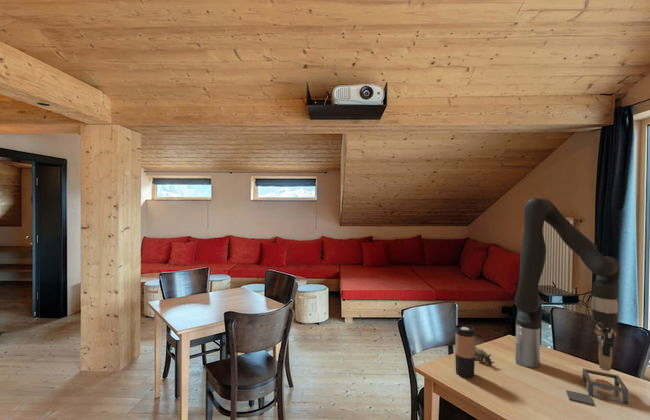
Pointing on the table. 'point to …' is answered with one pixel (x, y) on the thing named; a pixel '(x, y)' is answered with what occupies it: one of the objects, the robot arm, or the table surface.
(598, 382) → the button
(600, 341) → the handle
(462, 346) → the travel mug
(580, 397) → the rubber mat
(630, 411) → the table surface
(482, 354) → the rhino figurine
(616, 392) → the guard frame
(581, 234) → the robot arm
